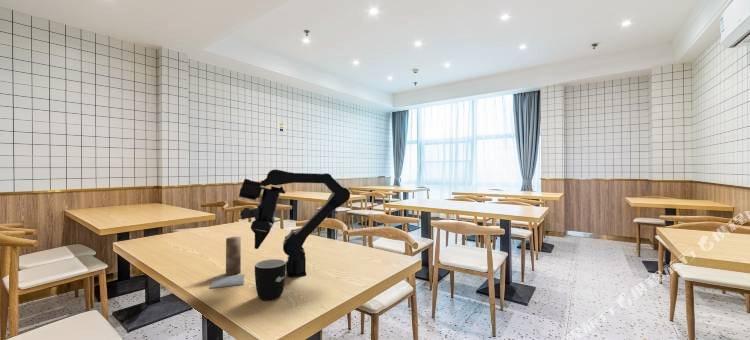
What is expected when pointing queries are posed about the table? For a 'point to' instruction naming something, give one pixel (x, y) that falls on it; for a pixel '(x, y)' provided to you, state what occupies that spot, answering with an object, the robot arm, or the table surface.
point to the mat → (227, 281)
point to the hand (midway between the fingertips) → (257, 245)
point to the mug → (270, 278)
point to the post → (233, 255)
